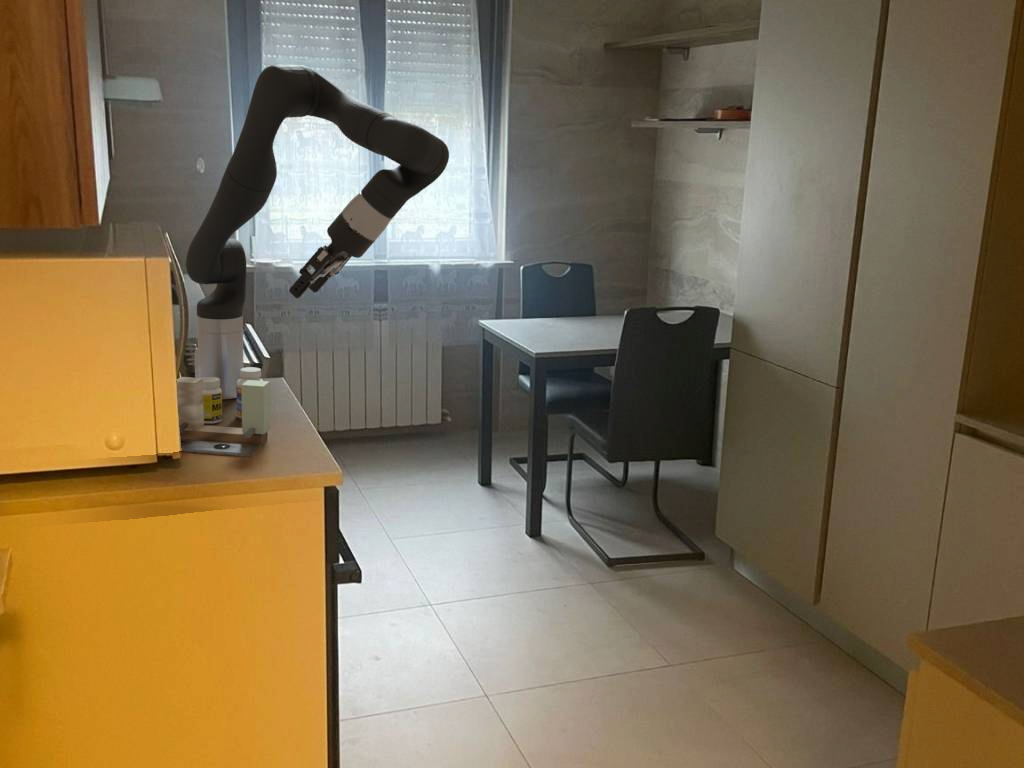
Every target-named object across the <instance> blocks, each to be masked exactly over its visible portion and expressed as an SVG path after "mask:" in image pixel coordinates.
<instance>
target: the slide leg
mask: <svg viewBox="0 0 1024 768" xmlns="http://www.w3.org/2000/svg"><path fill="white" fill-rule="evenodd" d="M270 383H271V382H270V381H268V380H263V381H256V380H247V381H246V382H245V383H243V384H242V385H241V386H242V419H241V428H242V433H244V434H245V438H249V437H250V436H252V435H253V434H265V433H266V432H267V433H268V431H269V430H270V429H271V388H270V387H271V386H270V385H271V384H270Z"/></svg>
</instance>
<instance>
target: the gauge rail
mask: <svg viewBox="0 0 1024 768" xmlns="http://www.w3.org/2000/svg"><path fill="white" fill-rule="evenodd" d="M176 380H177V390H178V413H179V427H180V436H181V439H188V440H202V441H215V442H229V443H242V444H255V445H260V447H262V446H263V445H264V444H266V442H268V431H267V432H266V433H265V434H253V435H252V436H250V437H249V438H245V434H244V433H242V427H235V426H233V427H231V426H221V425H220V426H218V425H208V424H206V425H205V424H204V410H203V378H195V377H188V376H181V377H179V378H177V379H176Z"/></svg>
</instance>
